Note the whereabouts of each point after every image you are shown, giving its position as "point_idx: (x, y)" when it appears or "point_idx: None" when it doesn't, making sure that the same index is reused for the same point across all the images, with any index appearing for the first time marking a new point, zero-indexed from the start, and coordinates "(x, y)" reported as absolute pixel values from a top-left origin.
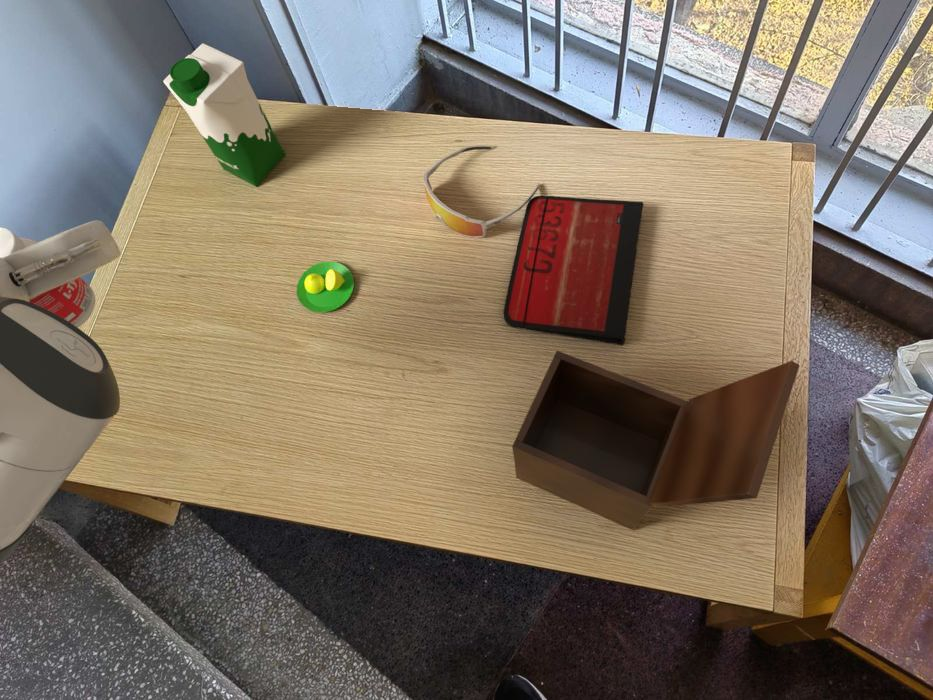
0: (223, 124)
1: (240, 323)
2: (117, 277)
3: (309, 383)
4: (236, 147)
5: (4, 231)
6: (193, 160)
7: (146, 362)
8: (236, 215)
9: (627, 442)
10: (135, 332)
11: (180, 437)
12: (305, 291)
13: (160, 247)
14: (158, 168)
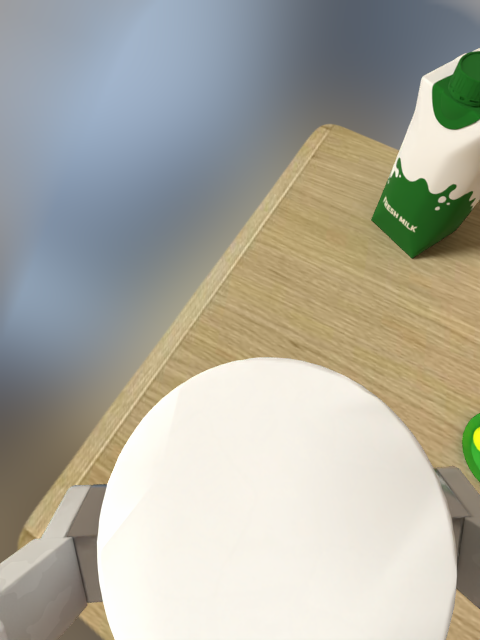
0: (468, 171)
1: None
2: (209, 309)
3: (467, 621)
4: (445, 207)
5: (377, 422)
6: (334, 195)
7: None
8: (379, 286)
9: None
10: None
11: None
12: (471, 445)
13: (272, 291)
14: (289, 189)
